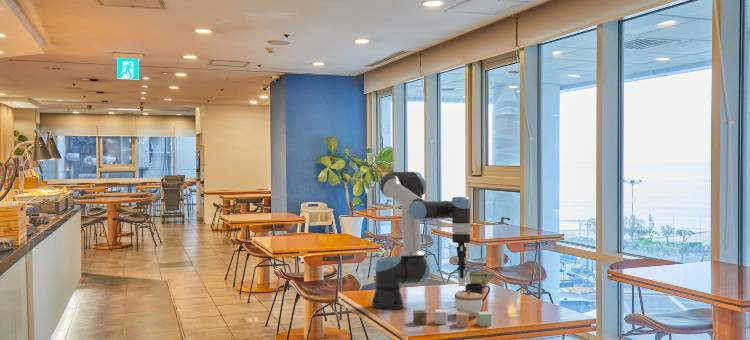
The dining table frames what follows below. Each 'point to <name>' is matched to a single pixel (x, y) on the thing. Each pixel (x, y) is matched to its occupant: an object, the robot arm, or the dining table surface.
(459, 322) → the terracotta block
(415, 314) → the walnut block
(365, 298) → the dining table surface
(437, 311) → the grey block
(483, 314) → the sage block
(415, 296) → the dining table surface
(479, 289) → the mug
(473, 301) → the lidded bowl
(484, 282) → the ceramic cup
